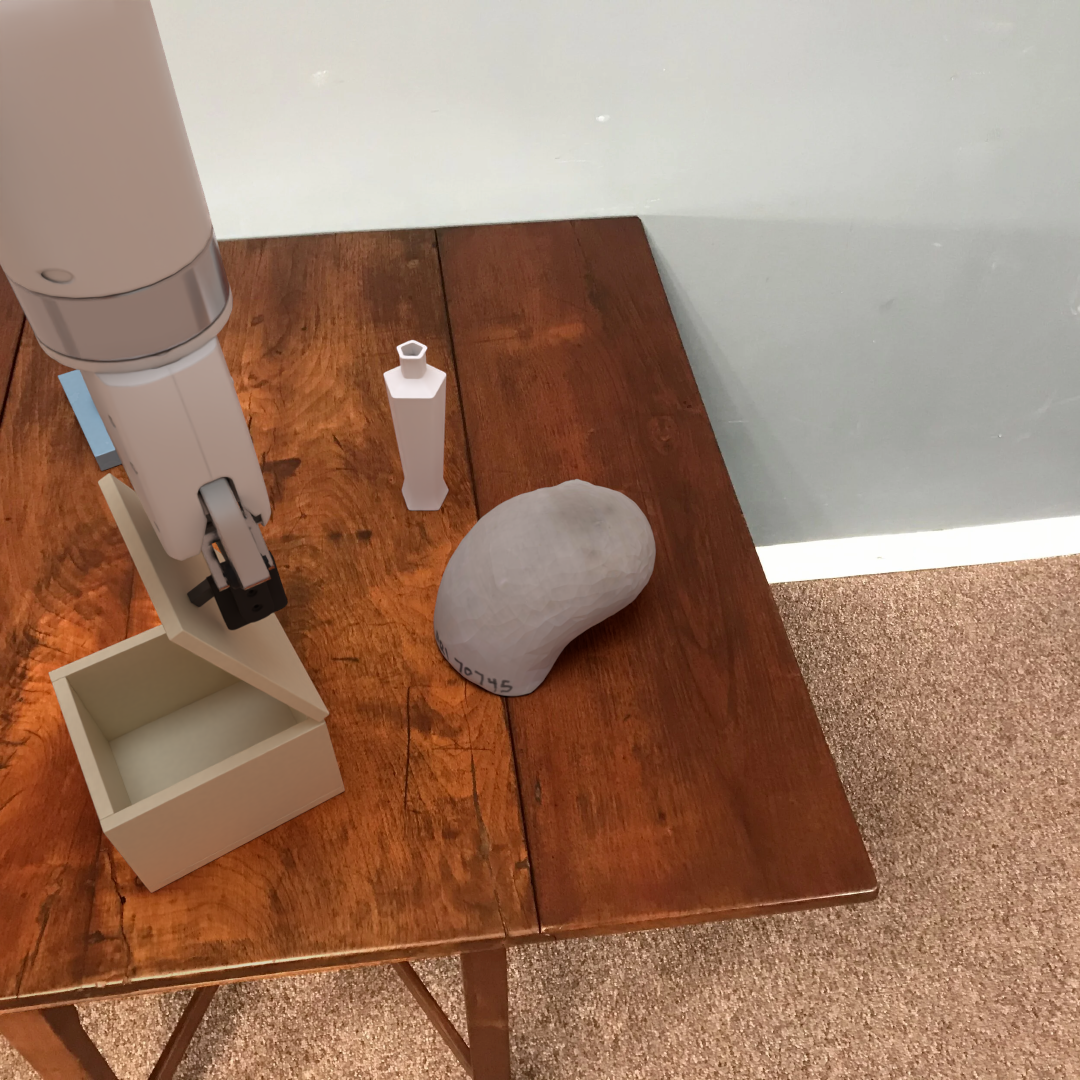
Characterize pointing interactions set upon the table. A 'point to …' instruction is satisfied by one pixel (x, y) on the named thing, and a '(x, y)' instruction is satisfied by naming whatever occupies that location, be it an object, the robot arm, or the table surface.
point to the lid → (209, 611)
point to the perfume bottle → (419, 425)
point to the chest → (187, 754)
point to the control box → (89, 419)
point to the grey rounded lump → (539, 581)
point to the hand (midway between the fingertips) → (233, 568)
